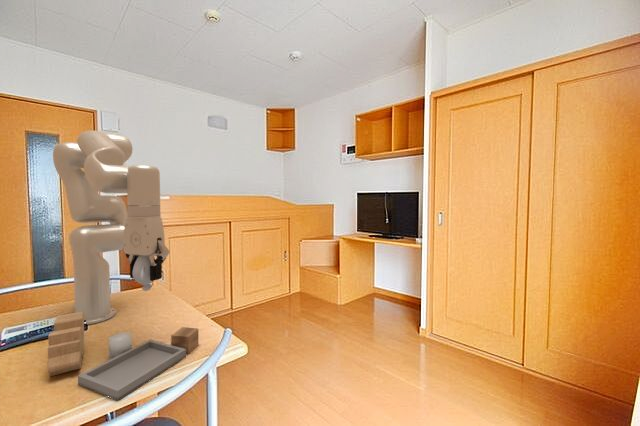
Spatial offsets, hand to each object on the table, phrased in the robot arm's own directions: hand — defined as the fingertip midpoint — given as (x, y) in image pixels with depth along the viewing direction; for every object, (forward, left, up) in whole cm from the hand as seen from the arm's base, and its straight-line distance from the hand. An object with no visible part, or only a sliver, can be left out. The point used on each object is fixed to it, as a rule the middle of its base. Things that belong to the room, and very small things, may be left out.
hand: (146, 277), depth 80 cm
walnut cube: (+9, +5, -20) cm, 23 cm away
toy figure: (0, 0, -3) cm, 3 cm away
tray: (+6, -8, -20) cm, 22 cm away
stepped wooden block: (-13, -12, -20) cm, 27 cm away
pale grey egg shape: (-4, -5, -20) cm, 21 cm away
